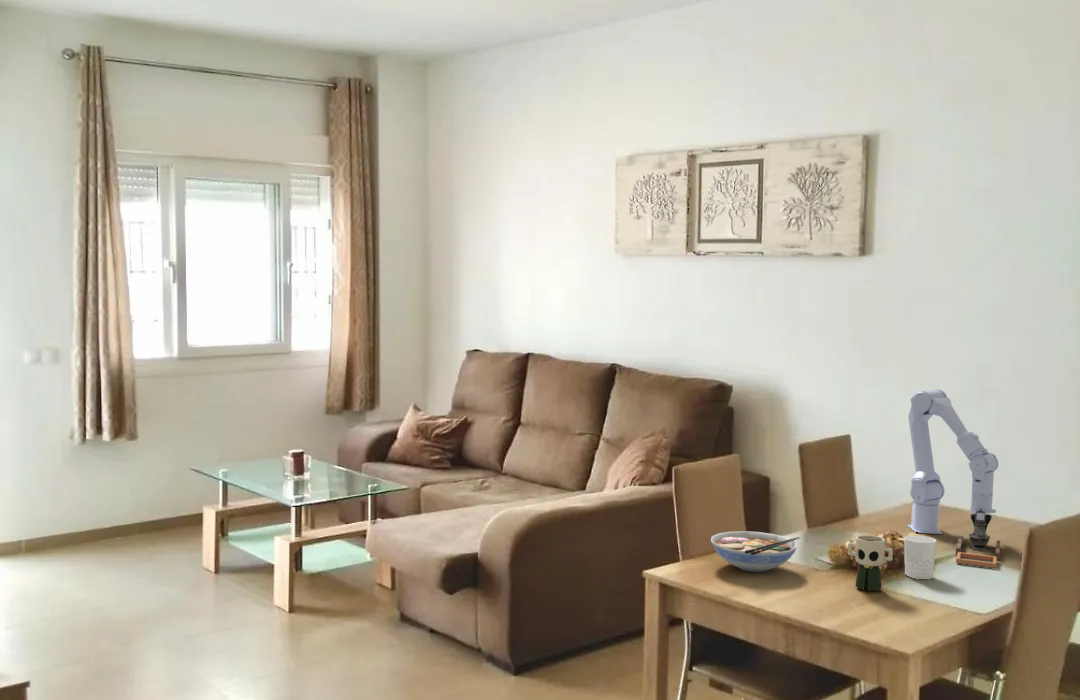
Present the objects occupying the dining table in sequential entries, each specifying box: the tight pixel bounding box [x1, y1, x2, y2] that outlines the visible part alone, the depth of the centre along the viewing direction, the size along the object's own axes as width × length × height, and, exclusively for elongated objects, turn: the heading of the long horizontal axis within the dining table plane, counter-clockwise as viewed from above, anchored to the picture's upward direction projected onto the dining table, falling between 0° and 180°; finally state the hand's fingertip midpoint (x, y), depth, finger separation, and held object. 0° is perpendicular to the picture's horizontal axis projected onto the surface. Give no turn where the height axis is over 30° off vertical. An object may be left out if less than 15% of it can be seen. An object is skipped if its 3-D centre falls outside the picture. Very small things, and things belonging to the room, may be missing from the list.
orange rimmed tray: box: [955, 535, 1001, 562], centre depth 295 cm, size 16×11×2 cm
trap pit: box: [955, 552, 998, 570], centre depth 282 cm, size 8×10×2 cm
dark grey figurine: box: [968, 508, 991, 552], centre depth 298 cm, size 6×6×12 cm
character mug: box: [847, 534, 894, 592], centre depth 255 cm, size 11×7×13 cm, turn 61°
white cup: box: [903, 534, 937, 580], centre depth 268 cm, size 8×8×10 cm
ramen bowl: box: [710, 530, 800, 573], centre depth 272 cm, size 25×23×8 cm
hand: (979, 539), depth 303 cm, fingers closed
